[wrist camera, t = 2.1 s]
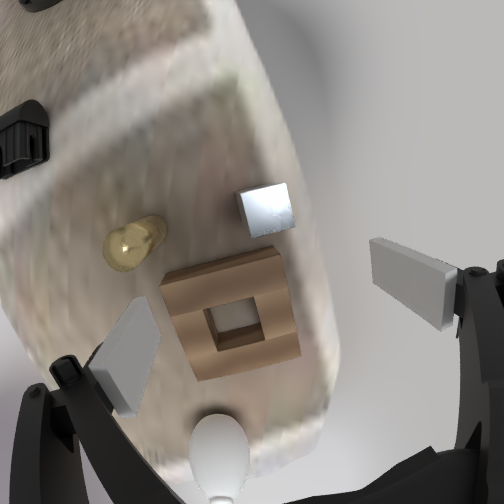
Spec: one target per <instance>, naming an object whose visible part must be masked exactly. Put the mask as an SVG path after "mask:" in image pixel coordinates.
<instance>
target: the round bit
mask: <svg viewBox="0 0 504 504" xmlns="http://www.w3.org/2000/svg"><path fill="white" fill-rule="evenodd" d="M166 235H167V226H166V223H165V221H164V220H163V219H162V218H160V217H159V216H156V215H150V216H147V217H144V218H142V219H140V220H137V221H135V222H132V223H130V224H128V225H125V226H123V227H121V228H118V229H116V230H114V231H112V232H110V233H109V234H108V235H107V236H106V238H105V240H104V243H103V255H104V258H105V260H106V262H107V263H108V265H109V266H110V267H112V268H113V269H115V270H117V271H120V272H128V271H131V270H133V269H134V268H135V267H136V266H137V265H138V264H139V263H140V262H141V261H142V260H144V259H145V258H146V257H147V256H148V255H149V254H150V253H151V252H152V251H153V250H154V249H155V248H156V247H157V246H158V245H159V244H160V243H161V242H162V241H163V240H164V239H165V237H166Z"/></svg>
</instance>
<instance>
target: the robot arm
mask: <svg viewBox="0 0 504 504" xmlns="http://www.w3.org/2000/svg"><path fill="white" fill-rule="evenodd" d="M59 1H61V0H19V3H20V5H21V6H22V7H24V8H25V9H26V10H27V11H30V12H36V11H40V10H43V9H46V8H48V7H50V6H52V5H54V4H56V3H58V2H59ZM369 243H370V252H371V263H372V276H373V283H374V284H375V285H377V286H378V287H380V288H381V289H383V290H384V291H385V292H387V293H388V294H390V295H391V296H393V297H394V298H395V299H397V300H398V301H400V302H401V303H402V304H404V305H405V306H406V307H408V308H409V309H411V310H412V311H413V312H415V313H416V314H418V315H419V316H420V317H422V318H423V319H425V320H426V321H427V322H429V323H430V324H431V325H432V326H434V327H435V328H436V329H438V330H439V331H443V330H445V329H447V328H448V327H450V326H452V324H453V316H454V313H455V314H456V315H458V316H459V323H458V328H457V335H456V338H458V337H459V342H460V406H459V419H458V430H457V437H456V443H455V447H454V449H452V450H446V451H442V452H438V453H436V452H435V451H434V450H433V448H432V447H431V446H429V447H427V448H426V449H424V450H422V451H420V452H419V453H417V454H415V455H413V456H411V457H409V458H408V459H406V460H404V461H402V462H400V463H398V464H396V465H395V466H394V467H393V468H391V469H390V470H388V471H387V472H386V473H384V474H383V475H382V476H380V477H379V478H378V479H376V480H375V481H373V482H372V483H370V484H369V485H367V486H366V487H364V488H363V489H360V490H357V491H352V492H345V493H338V494H330V495H321V496H312V497H308V498H305V499H301V500H297V501H293V502H289V503H284V504H504V259H503V260H500V261H498V262H497V269H496V272H493V273H489V272H488V271H487V270H486V269H485V268H481V267H469V268H466V269H465V270H461V269H459V268H457V267H454V266H452V265H449V264H447V263H444V262H443V261H440V260H438V259H435V258H432V257H430V256H427V255H425V254H422V253H420V252H417V251H415V250H412V249H410V248H407V247H405V246H402V245H399V244H397V243H394V242H392V241H389V240H387V239H384V238H381V237H378V238H374V239H370V240H369ZM161 338H162V337H161V335H160V332H159V330H158V327H157V325H156V322H155V320H154V317H153V315H152V312H151V309H150V307H149V304H148V301H147V298H146V296H141V297H137V298H133V300H132V301H131V303H130V304H129V305H128V307H127V308H126V310H125V311H124V313H123V314H122V315H121V317H120V318H119V320H118V321H117V323H116V324H115V326H114V327H113V329H112V330H111V332H110V333H109V335H108V336H107V338H106V339H105V341H104V342H102V343H101V344H100V345H99V346H98V347H97V348H96V349H95V350H94V352H93V353H92V355H91V356H90V358H89V360H88V361H87V362H86V364H85V366H84V367H83V369H82V367H81V365H80V363H79V362H78V360H77V358H76V357H75V356H74V355H66V356H63V357H60V358H59V359H57V360H56V361H54V362H53V363H52V364H51V366H50V368H49V371H50V373H51V374H52V376H53V378H54V379H55V381H56V383H57V384H58V386H59V387H60V389H58V390H54V391H51V392H50V391H49V390H48V388H47V387H46V385H45V384H44V383H38V384H34V385H31V386H30V387H28V388H27V390H26V391H25V393H24V395H23V398H22V402H21V407H20V412H19V416H18V421H17V427H16V433H15V438H14V446H13V453H12V461H11V473H10V497H9V504H89V500H88V496H87V491H86V486H85V481H84V475H83V469H82V462H81V456H80V446H79V440H80V442H81V444H82V446H83V448H84V450H85V453H86V455H87V457H88V459H89V461H90V463H91V465H92V467H93V469H94V470H95V472H96V474H97V476H98V478H99V480H100V481H101V483H102V485H103V487H104V488H105V490H106V492H107V493H108V495H109V497H110V498H111V500H112V501H113V503H114V504H186V503H185V502H184V501H183V500H182V499H181V498H180V497H179V496H178V495H177V494H176V493H175V492H174V491H173V490H172V489H171V488H170V487H169V486H168V485H167V484H166V483H165V482H164V481H163V480H162V478H161V477H160V476H159V475H158V474H157V473H156V472H155V471H154V469H153V468H152V467H151V466H150V465H149V464H148V462H147V461H146V460H145V459H144V458H143V456H142V455H141V454H140V453H139V451H138V450H137V449H136V448H135V446H134V445H133V444H132V442H131V441H130V440H129V438H128V437H127V436H126V434H125V433H124V432H123V430H122V429H121V427H120V426H119V425H118V423H117V422H116V420H115V419H114V417H113V416H112V415H111V414H112V412H113V409H115V410H116V412H117V413H118V415H119V416H120V417H121V418H125V417H136V416H137V413H138V409H139V406H140V403H141V399H142V396H143V393H144V390H145V386H146V383H147V380H148V377H149V374H150V371H151V368H152V364H153V361H154V358H155V355H156V352H157V349H158V347H159V344H160V341H161Z"/></svg>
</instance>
